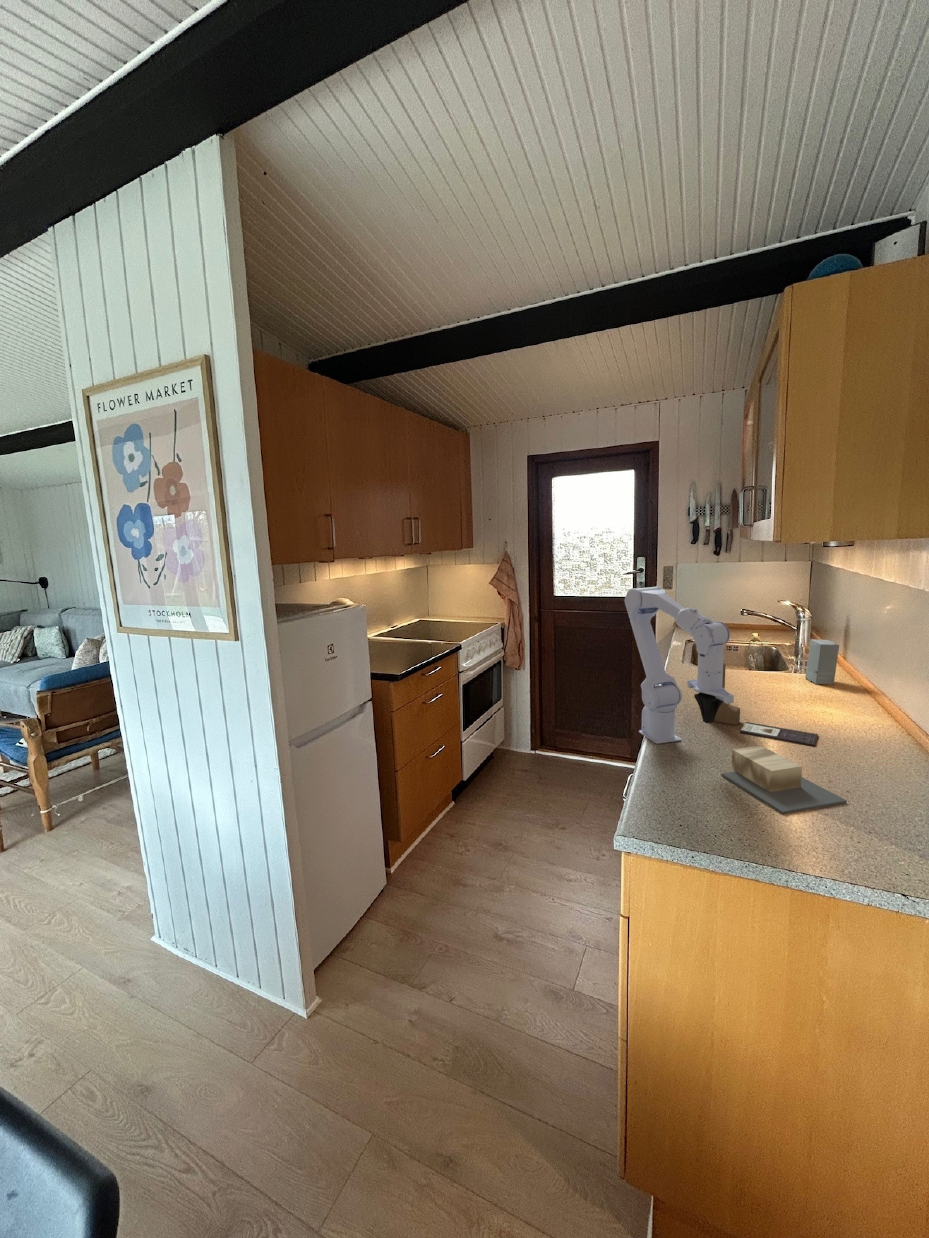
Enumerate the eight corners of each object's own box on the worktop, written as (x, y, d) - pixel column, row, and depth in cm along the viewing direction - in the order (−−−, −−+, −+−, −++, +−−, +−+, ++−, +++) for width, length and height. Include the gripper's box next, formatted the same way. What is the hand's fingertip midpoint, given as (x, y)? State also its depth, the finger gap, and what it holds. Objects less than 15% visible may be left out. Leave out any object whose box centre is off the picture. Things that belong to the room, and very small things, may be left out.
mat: (721, 775, 121) (721, 773, 121) (778, 766, 124) (778, 764, 124) (782, 814, 103) (782, 811, 103) (846, 802, 107) (846, 800, 106)
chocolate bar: (814, 744, 134) (739, 731, 146) (814, 748, 135) (739, 734, 146) (818, 734, 141) (746, 721, 153) (817, 737, 141) (746, 724, 153)
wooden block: (739, 721, 155) (742, 664, 152) (736, 725, 151) (738, 668, 148) (708, 715, 160) (710, 661, 158) (704, 720, 157) (706, 664, 154)
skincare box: (804, 678, 195) (807, 639, 192) (825, 678, 193) (827, 638, 191) (815, 685, 186) (818, 643, 184) (837, 685, 185) (840, 643, 183)
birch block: (732, 749, 122) (771, 770, 110) (760, 745, 124) (802, 766, 112) (731, 768, 123) (770, 792, 111) (760, 764, 124) (800, 787, 113)
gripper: (677, 665, 132) (676, 714, 134) (716, 679, 118) (714, 734, 120) (701, 662, 133) (699, 711, 136) (742, 676, 119) (739, 730, 122)
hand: (708, 721), depth 128 cm, fingers closed
